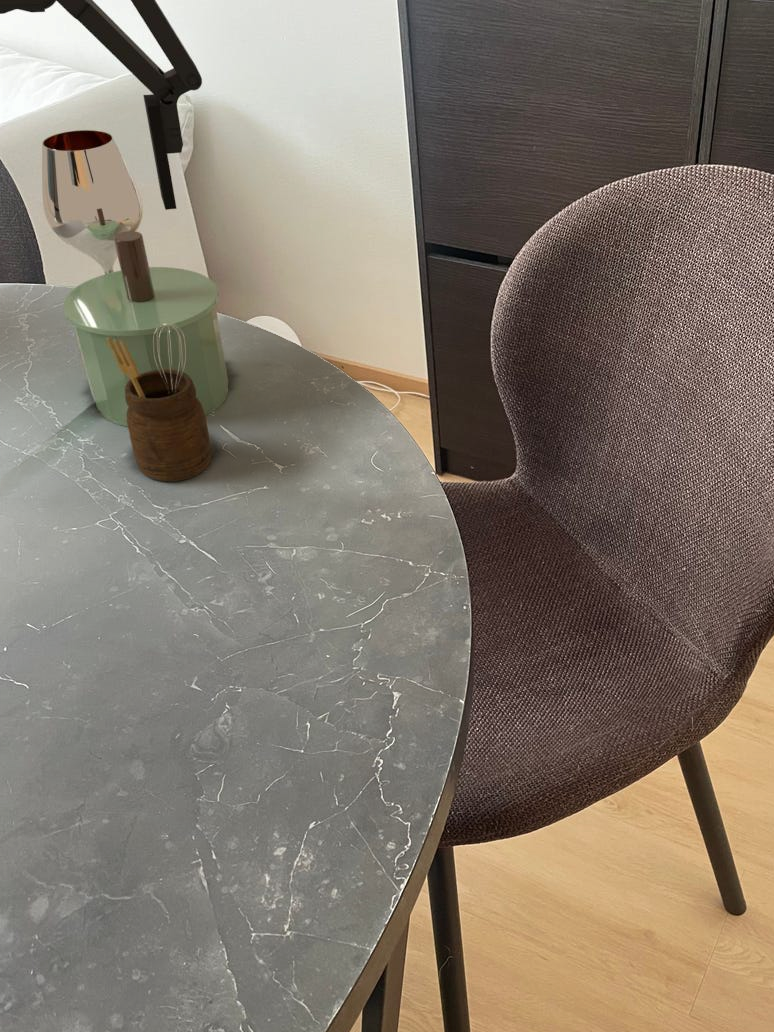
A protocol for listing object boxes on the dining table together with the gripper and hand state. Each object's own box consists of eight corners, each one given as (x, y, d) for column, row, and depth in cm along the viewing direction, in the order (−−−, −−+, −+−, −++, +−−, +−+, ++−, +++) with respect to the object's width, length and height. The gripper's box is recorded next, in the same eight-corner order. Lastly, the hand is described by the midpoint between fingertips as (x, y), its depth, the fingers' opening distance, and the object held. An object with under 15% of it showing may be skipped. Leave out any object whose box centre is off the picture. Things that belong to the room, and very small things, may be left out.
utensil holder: (228, 454, 84) (203, 313, 76) (179, 493, 80) (147, 348, 72) (170, 437, 86) (140, 298, 78) (119, 474, 82) (81, 331, 74)
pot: (68, 415, 89) (41, 321, 83) (142, 357, 97) (121, 267, 91) (185, 438, 86) (165, 342, 81) (251, 376, 94) (237, 285, 89)
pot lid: (34, 329, 83) (11, 254, 79) (121, 271, 92) (105, 200, 88) (169, 353, 81) (153, 276, 76) (246, 290, 89) (235, 218, 85)
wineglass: (81, 365, 96) (25, 159, 84) (80, 327, 101) (28, 129, 89) (172, 354, 97) (130, 151, 85) (166, 317, 103) (126, 122, 91)
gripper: (-307, -181, 51) (-142, 251, 65) (213, -182, 57) (259, 214, 71) (-278, -195, 56) (-131, 209, 70) (196, -193, 62) (242, 177, 76)
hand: (66, 212), depth 71 cm, fingers open, 13 cm apart
